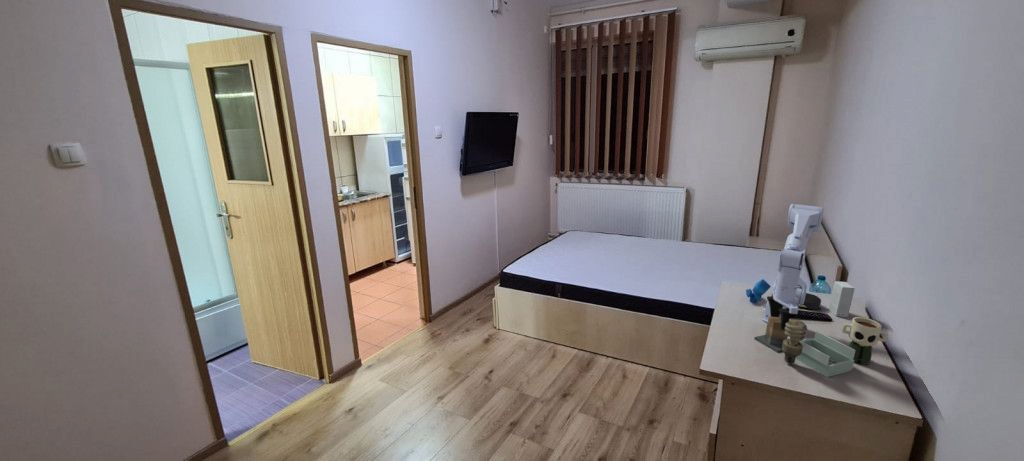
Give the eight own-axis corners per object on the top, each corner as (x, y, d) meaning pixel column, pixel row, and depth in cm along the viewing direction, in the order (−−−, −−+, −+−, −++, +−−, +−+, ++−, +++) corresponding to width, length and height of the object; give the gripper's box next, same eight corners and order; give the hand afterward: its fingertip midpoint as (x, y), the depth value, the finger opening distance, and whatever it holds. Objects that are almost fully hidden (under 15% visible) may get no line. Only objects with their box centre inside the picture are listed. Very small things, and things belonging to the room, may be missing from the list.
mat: (754, 338, 147) (754, 337, 147) (774, 334, 150) (774, 332, 150) (777, 352, 139) (777, 350, 139) (798, 347, 142) (798, 345, 141)
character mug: (836, 359, 135) (845, 322, 131) (835, 349, 140) (843, 313, 137) (881, 370, 129) (892, 332, 125) (878, 359, 135) (888, 322, 131)
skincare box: (848, 317, 161) (855, 288, 158) (835, 316, 162) (842, 287, 159) (840, 310, 167) (846, 281, 164) (827, 309, 168) (834, 280, 164)
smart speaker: (788, 300, 176) (790, 291, 175) (811, 301, 175) (813, 292, 174) (800, 310, 167) (802, 301, 166) (824, 311, 166) (826, 301, 165)
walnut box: (764, 337, 146) (768, 316, 144) (780, 338, 146) (784, 317, 143) (769, 343, 143) (773, 322, 140) (785, 345, 142) (790, 323, 140)
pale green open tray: (785, 353, 138) (789, 335, 136) (811, 347, 141) (815, 329, 140) (826, 377, 126) (830, 357, 124) (852, 370, 129) (857, 351, 128)
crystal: (742, 286, 172) (753, 272, 179) (741, 304, 176) (752, 290, 183) (763, 292, 167) (773, 277, 174) (761, 310, 170) (771, 295, 177)
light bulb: (799, 371, 129) (808, 326, 125) (778, 365, 132) (786, 321, 128) (798, 361, 134) (808, 318, 129) (778, 356, 136) (786, 313, 132)
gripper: (811, 295, 131) (803, 335, 135) (789, 277, 145) (782, 313, 149) (786, 294, 132) (779, 334, 136) (767, 276, 146) (760, 312, 150)
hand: (779, 323), depth 142 cm, fingers open, 7 cm apart
